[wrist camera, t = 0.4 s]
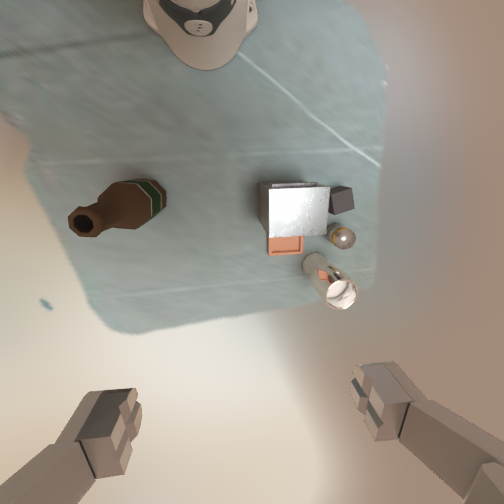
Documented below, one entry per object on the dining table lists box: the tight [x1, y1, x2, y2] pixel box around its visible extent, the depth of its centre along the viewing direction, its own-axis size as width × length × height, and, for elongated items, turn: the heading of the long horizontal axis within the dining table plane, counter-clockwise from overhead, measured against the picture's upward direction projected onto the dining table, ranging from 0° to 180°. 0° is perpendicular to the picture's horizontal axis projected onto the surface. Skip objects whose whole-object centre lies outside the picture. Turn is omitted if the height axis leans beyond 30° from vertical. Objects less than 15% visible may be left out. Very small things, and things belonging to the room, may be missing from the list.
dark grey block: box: [258, 181, 330, 238], centre depth 45 cm, size 9×10×14 cm
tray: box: [268, 236, 304, 256], centre depth 54 cm, size 8×8×2 cm
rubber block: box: [328, 186, 355, 215], centre depth 50 cm, size 4×4×5 cm
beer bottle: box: [68, 179, 166, 237], centre depth 37 cm, size 8×8×24 cm
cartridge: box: [325, 223, 356, 249], centre depth 53 cm, size 5×5×6 cm
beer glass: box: [303, 253, 358, 310], centre depth 51 cm, size 7×7×15 cm
